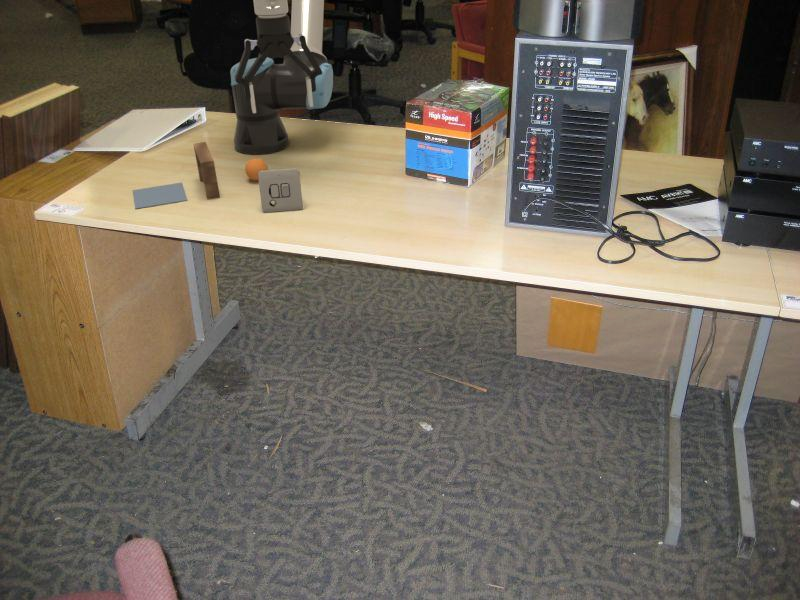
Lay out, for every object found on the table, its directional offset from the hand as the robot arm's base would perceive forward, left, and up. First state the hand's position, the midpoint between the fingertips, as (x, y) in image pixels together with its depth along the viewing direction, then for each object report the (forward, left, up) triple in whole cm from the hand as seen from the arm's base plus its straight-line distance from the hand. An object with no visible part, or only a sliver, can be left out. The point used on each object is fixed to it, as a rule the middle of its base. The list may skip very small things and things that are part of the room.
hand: (282, 108), depth 179 cm
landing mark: (+32, -2, -18) cm, 37 cm away
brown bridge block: (+20, -2, -18) cm, 27 cm away
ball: (+8, -2, -15) cm, 17 cm away
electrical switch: (+6, +17, -18) cm, 25 cm away
